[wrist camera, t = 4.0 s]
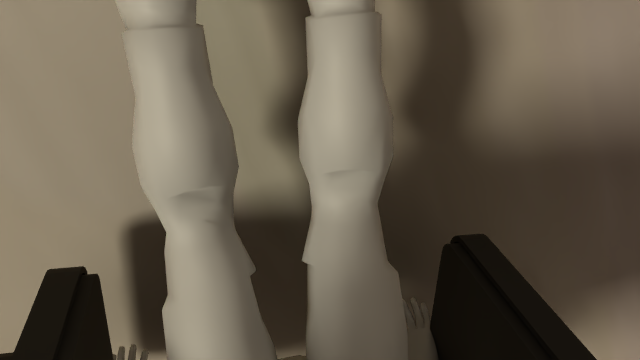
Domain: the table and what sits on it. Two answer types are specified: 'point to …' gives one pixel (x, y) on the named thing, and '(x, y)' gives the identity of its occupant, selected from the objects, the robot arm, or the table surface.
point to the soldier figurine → (219, 181)
